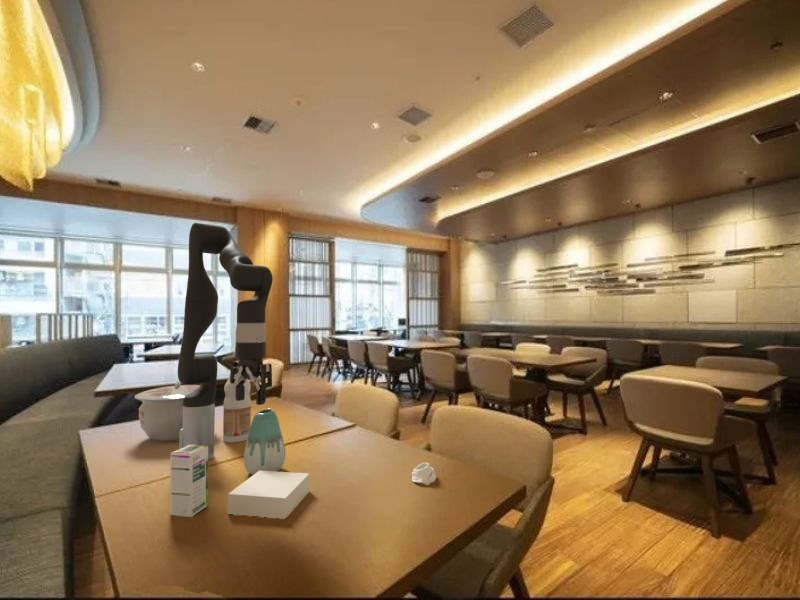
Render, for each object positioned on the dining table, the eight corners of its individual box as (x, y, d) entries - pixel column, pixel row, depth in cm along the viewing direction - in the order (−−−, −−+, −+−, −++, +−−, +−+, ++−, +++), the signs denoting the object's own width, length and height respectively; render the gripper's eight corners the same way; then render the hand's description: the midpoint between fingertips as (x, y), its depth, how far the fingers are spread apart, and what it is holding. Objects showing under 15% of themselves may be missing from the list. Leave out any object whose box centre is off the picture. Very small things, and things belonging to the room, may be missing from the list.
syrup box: (191, 518, 89) (192, 453, 89) (168, 515, 90) (170, 451, 91) (208, 506, 94) (209, 444, 95) (187, 503, 96) (188, 443, 96)
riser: (228, 516, 90) (228, 493, 91) (259, 489, 104) (259, 470, 104) (285, 520, 88) (285, 498, 88) (309, 493, 102) (309, 473, 102)
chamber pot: (157, 453, 131) (158, 390, 132) (118, 440, 145) (120, 383, 146) (232, 432, 155) (232, 379, 155) (192, 422, 169) (193, 374, 170)
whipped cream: (431, 491, 104) (432, 473, 104) (407, 485, 106) (408, 468, 106) (437, 477, 112) (438, 460, 112) (415, 472, 114) (416, 456, 114)
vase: (245, 483, 107) (246, 417, 108) (241, 469, 117) (242, 408, 118) (289, 475, 112) (289, 412, 113) (281, 462, 123) (281, 404, 123)
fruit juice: (220, 444, 140) (221, 365, 141) (226, 436, 149) (227, 362, 150) (248, 442, 142) (249, 364, 143) (252, 434, 151) (253, 361, 152)
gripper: (221, 340, 104) (220, 401, 103) (256, 342, 96) (255, 408, 96) (246, 338, 110) (245, 396, 110) (280, 340, 103) (279, 402, 102)
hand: (250, 402), depth 103 cm, fingers open, 8 cm apart
